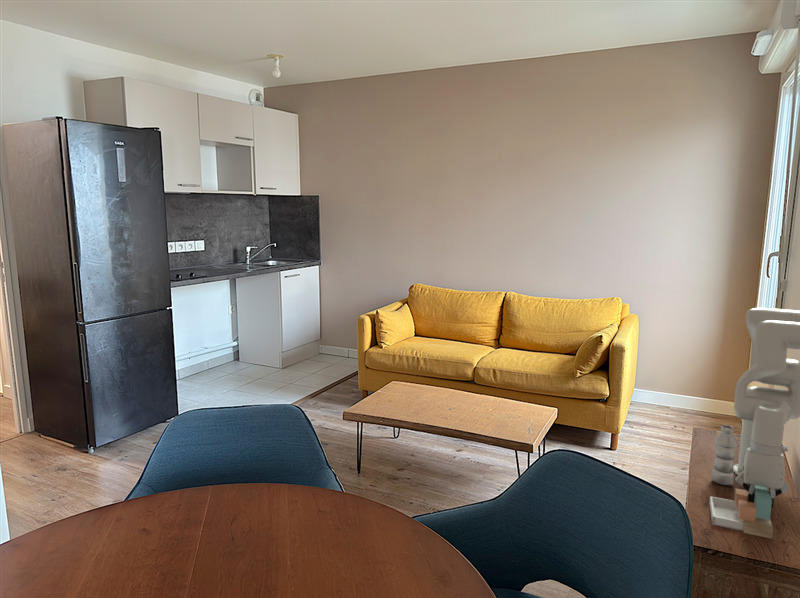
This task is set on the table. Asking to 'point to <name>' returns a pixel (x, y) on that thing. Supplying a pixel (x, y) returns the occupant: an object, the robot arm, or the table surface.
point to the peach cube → (746, 510)
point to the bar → (762, 502)
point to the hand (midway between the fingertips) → (759, 506)
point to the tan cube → (740, 495)
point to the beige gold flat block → (758, 527)
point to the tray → (725, 513)
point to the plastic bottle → (724, 456)
